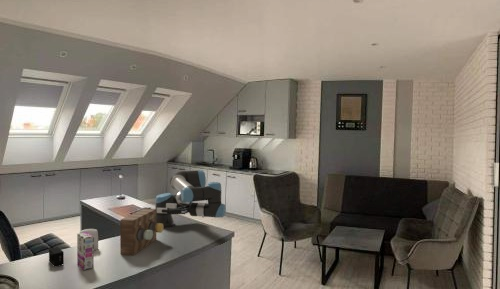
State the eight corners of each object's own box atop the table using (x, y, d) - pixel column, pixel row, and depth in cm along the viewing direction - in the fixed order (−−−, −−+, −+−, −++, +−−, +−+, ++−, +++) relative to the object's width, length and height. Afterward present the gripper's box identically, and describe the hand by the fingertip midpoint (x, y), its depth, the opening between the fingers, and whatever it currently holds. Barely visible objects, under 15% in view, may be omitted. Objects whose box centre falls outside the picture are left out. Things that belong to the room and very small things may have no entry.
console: (145, 238, 208) (144, 208, 208) (158, 239, 206) (158, 209, 206) (120, 254, 181) (120, 219, 180) (135, 255, 179) (135, 220, 178)
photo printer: (78, 251, 184) (78, 230, 184) (80, 249, 189) (80, 228, 188) (97, 250, 187) (97, 229, 186) (99, 247, 191) (98, 227, 191)
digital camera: (46, 262, 170) (46, 249, 169) (57, 259, 174) (57, 246, 173) (51, 267, 162) (51, 254, 162) (63, 264, 166) (63, 251, 166)
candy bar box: (94, 267, 162) (94, 236, 162) (83, 270, 159) (83, 238, 158) (87, 261, 170) (86, 231, 170) (76, 264, 167) (76, 233, 166)
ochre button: (159, 230, 202) (159, 222, 202) (163, 231, 201) (163, 222, 201) (155, 233, 196) (154, 224, 196) (159, 233, 196) (159, 224, 195)
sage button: (148, 237, 188) (148, 228, 188) (153, 238, 187) (153, 228, 187) (143, 240, 182) (143, 231, 182) (148, 241, 182) (148, 231, 182)
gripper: (190, 221, 168) (152, 219, 171) (204, 211, 191) (170, 209, 195) (190, 207, 167) (152, 205, 171) (204, 198, 190) (170, 197, 194)
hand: (161, 207), depth 183 cm, fingers open, 11 cm apart
